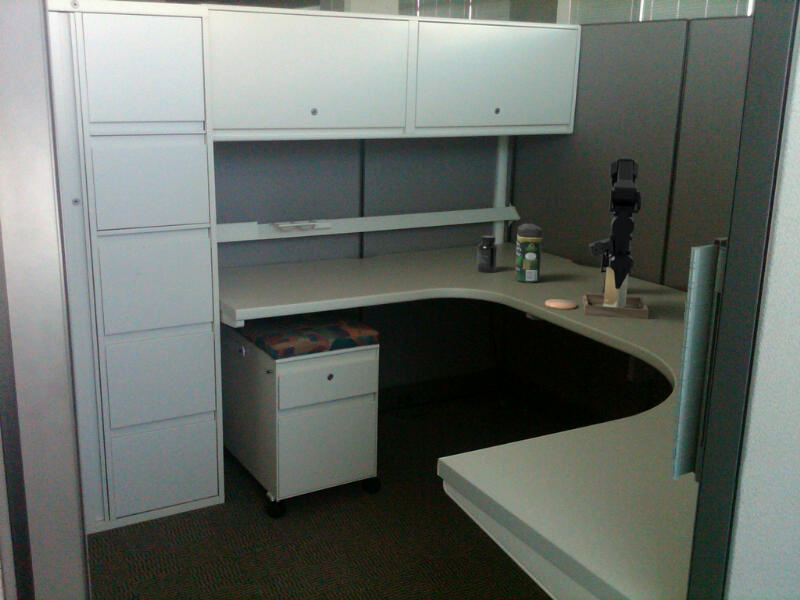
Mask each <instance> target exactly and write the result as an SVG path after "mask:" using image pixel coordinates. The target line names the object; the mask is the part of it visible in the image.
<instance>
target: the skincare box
mask: <svg viewBox="0 0 800 600" xmlns="http://www.w3.org/2000/svg"><path fill="white" fill-rule="evenodd" d="M628 281H629V274H628V275H627V276H626V278H625V280H624V282H623V283H622V285H621V287H620V289H616V288H615V279H614V271H613V270H612V269H611V268H610V266H609V267H607V268H606V280H605V292H604V293H603V295H604V304H603V305H602V306H605V307H620V308H627V307H626V306H627V305H626V296H627V294H628Z"/></svg>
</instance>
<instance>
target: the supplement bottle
mask: <svg viewBox="0 0 800 600" xmlns="http://www.w3.org/2000/svg"><path fill="white" fill-rule="evenodd" d="M498 251H499V248H498V245H496V236H493V235H482V236H481V239H480V244H479V245H478V246H477V254H476V255H477V257H476V271H477V272H481V273H485V274H486V273H488V274H489V273H496V272H497V269H498Z"/></svg>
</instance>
